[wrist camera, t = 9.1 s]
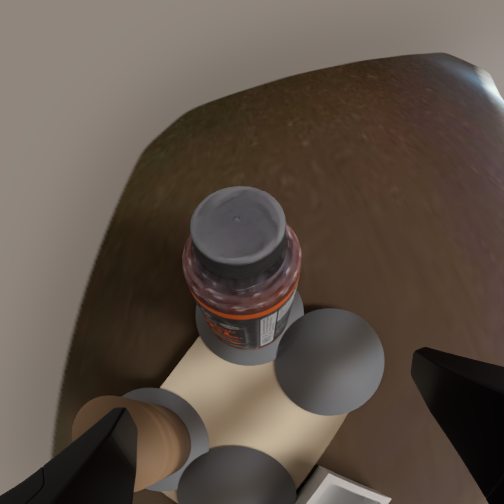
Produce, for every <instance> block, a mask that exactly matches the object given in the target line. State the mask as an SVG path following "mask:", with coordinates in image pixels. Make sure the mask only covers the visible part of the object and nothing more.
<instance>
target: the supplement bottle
mask: <svg viewBox="0 0 504 504" xmlns="http://www.w3.org/2000/svg"><path fill="white" fill-rule="evenodd" d="M301 261H302V253H301V249H300V244H299V241H298V239H297V237H296V235H295V233H294V232H293V230H292V229H291V227H290V226H289V225H288V224H287V223H286V219H285V215H284V212H283V210H282V207H281V206H280V204H279V203H278V201H276V200H275V199H274V197H272V196H271V195H269V194H268V193H266V192H264V191H261V190H259V189H257V188H253V187H245V186H235V187H229V188H225V189H221V190H218V191H216V192H214V193H212V194H210V195H209V196H207V197H206V198H205V199H204V200H203V201H202V202H201V203H200V204H199V205H198V206H197V208H196V209H195V211H194V213H193V215H192V218H191V221H190V235H189V237H188V239H187V242H186V244H185V247H184V251H183V256H182V265H183V273H184V276H185V280H186V283H187V285H188V287H189V289H190V291H191V293H192V296H193V297H194V299H195V301H196V303H197V305H198V306H199V308H200V310H201V312H202V314H203V315H204V317H205V319H206V321H207V323H208V325H209V327H210V328H211V330H212V331H213V333H214V334H215V335H216V336H217V338H218V339H220V340H221V341H222V342H223V343H225V344H227V345H228V346H231V347H233V348H236V349H240V350H256V349H260V348H263V347H265V346H268V345H269V344H271V343H273V342H274V341H275V340H276V339H277V338H278V337H279V336H280V335H281V334H282V332H283V331H284V329H285V327H286V325H287V322H288V319H289V316H290V312H291V308H292V304H293V300H294V296H295V292H296V288H297V284H298V280H299V276H300V271H301Z"/></svg>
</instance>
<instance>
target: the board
mask: <svg viewBox="0 0 504 504" xmlns="http://www.w3.org/2000/svg"><path fill="white" fill-rule="evenodd" d="M195 316H196V325H197V329H198V332H199V335H200V336H199V337H198V339H197V340H196V341H195V343H194V344H193V345H192V346H191V348H190V349H189V350H188V352H187V353H186V354H185V356H184V357H183V358H182V360H181V361H180V362H179V363H178V365H177V366H176V367H175V369H174V370H173V371H172V373H171V374H170V375H169V376H168V378H167V379H166V380H165V382H164V383H163V384H162V386H161V387H160V388H159V389H158V388H141V389H136V390H133V391H130V392H128V393H126V394H124V395H123V396H121V397H119V396H112V395H107V396H100V397H97V398H94V399H92V400H90V401H89V402H87V403H86V404H85V405H84V406H83V407H82V408H81V409H80V410H79V412H78V413H77V415H76V417H75V420H74V423H73V427H72V442H74V441H75V440H76V439H77V438H78V437H80V436H81V435H82V434H83V433H84V432H86V431H87V430H88V429H89V428H90V427H92V426H93V425H94V424H95V423H96V422H98V421H99V420H100V419H101V418H102V417H104V416H105V415H106V414H107V413H108V412H110V411H111V410H112V409H113V408H118V407H125V408H127V409H128V410H129V412H130V414H131V416H132V418H133V420H134V422H135V424H136V426H137V429H138V441H137V469H136V479H135V486H134V492H137V491H140V490H142V489H144V488H145V489H148V490H153V491H161V492H162V493H164V494H165V495H167V496H168V497H169V498H171V499H172V500H173V501H175V502H176V503H178V504H295V503H296V490H297V488H298V487H299V486H300V484H301V483H302V482H303V480H304V479H305V478H306V476H307V475H308V474H309V472H310V471H311V469H312V468H313V467H314V465H315V464H316V462H317V461H318V460H319V458H320V457H321V455H322V454H323V452H324V451H325V449H326V448H327V446H328V445H329V443H330V442H331V440H332V439H333V437H334V435H335V434H336V432H337V431H338V429H339V427H340V426H341V424H342V423H343V421H344V419H345V418H346V416H347V414H348V412H350V411H353V410H355V409H357V408H358V407H360V406H361V405H363V404H364V403H365V402H366V401H367V400H368V399H369V398H370V397H371V396H372V395H373V394H374V392H375V391H376V389H377V388H378V386H379V384H380V381H381V379H382V375H383V371H384V352H383V348H382V344H381V342H380V339H379V337H378V336H377V334H376V332H375V331H374V329H373V328H372V327H371V326H370V325H369V324H368V323H367V322H366V321H365V320H364V319H362V318H361V317H359V316H358V315H356V314H354V313H352V312H349V311H346V310H342V309H335V308H325V309H319V310H315V311H312V312H309V313H307V314H305V315H304V308H303V303H302V299H301V296H300V294H299V292H298V290H297V288H296V292H295V296H294V300H293V304H292V308H291V312H290V316H289V319H288V322H287V325H286V327H285V329H284V331H283V332H282V334H281V335H280V336H279V337H278V338H277V339H276V340H275V341H274V342H273V343H271V344H269V345H268V346H265V347H263V348H260V349H256V350H240V349H236V348H233V347H231V346H228V345H227V344H225V343H223V342H222V341H221V340H220V339H218V338H217V336H216V335H215V334H214V333H213V331H212V330H211V328H210V327H209V325H208V323H207V321H206V319H205V317H204V315H203V314H202V312H201V310H200V308H199V306H198V305H197V306H196V314H195Z"/></svg>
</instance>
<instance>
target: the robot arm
mask: <svg viewBox="0 0 504 504" xmlns="http://www.w3.org/2000/svg"><path fill="white" fill-rule="evenodd" d="M411 376H412V378H413V380H414V382H415V384H416V386H417V388H418V390H419V391H420V393H421V395H422V397H423V399H424V401H425V403H426V405H427V407H428V408H429V410H430V412H431V413H432V415H433V416H434V418H435V419H436V421H437V422H438V424H439V425H440V427H441V428H442V430H443V431H444V433H445V434H446V436H447V437H448V439H449V440H450V442H451V443H452V445H453V446H454V448H455V450H456V451H457V453H458V454H459V456H460V457H461V459H462V460H463V462H464V464H465V465H466V467H467V468H468V470H469V472H470V473H471V475H472V476H473V478H474V480H475V481H476V483H477V485H478V486H479V488H480V490H481V491H482V493H483V495H484V496H485V498H486V500H487V502H488V503H489V504H504V367H502V366H498V365H494V364H489V363H485V362H481V361H477V360H473V359H469V358H465V357H461V356H458V355H454V354H450V353H446V352H442V351H439V350H435V349H431V348H428V347H423V348H420V349H418V350H416V351H414V353H413V359H412V366H411ZM137 441H138V429H137V426H136V424H135V422H134V420H133V418H132V416H131V414H130V412H129V410H128V409H127V408H125V407H118V408H113V409H112V410H111V411H110V412H108V413H107V414H106V415H105V416H104V417H102V418H101V419H100V420H99V421H98V422H96V423H95V424H94V425H93V426H92V427H90V428H89V429H88V430H87V431H86V432H84V433H83V434H82V435H81V436H80V437H78V438H77V439H76V440H75V441H74V442H72V443H71V444H70V445H69V446H67V447H66V448H65V449H64V450H63V451H61V452H60V453H59V454H58V455H56V456H55V457H54V458H53V459H51V460H50V461H49V462H48V463H46V464H45V465H44V467H41V468H40V469H39V470H38V471H37V472H35V473H34V474H33V475H31V476H30V477H28V478H27V479H26V480H25V481H23V482H22V483H20V484H19V485H17V486H15V487H14V488H12V489H11V490H9V491H7V492H6V493H4V494H2V495H1V496H0V504H132V500H133V493H134V486H135V479H136V469H137Z"/></svg>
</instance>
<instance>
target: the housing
mask: <svg viewBox="0 0 504 504" xmlns="http://www.w3.org/2000/svg"><path fill="white" fill-rule="evenodd" d="M390 500H391V498H389V497H387V496H385V495H383V494H381V493H380V492H378V491H376V490H374V489H372V488H369V487H367V486H364V485H362V484H359V483H357V482H355V481H352V480H350V479H348V478H345V477H343V476H341V475H339V474H337V473H334V472H332V471H330V470H328V469H326V468H324V467H322V466H320V465H319V466H318V467H317V468H316V470H315V471H314V473H313V474H312V475H311V477H310V478H309V480H308V481H307V482H306V484H305V485H304V486H303V488H302V489H301V490H300V491H299V493H298V494H297V495H296V503H295V504H388V503H389V502H390Z"/></svg>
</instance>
